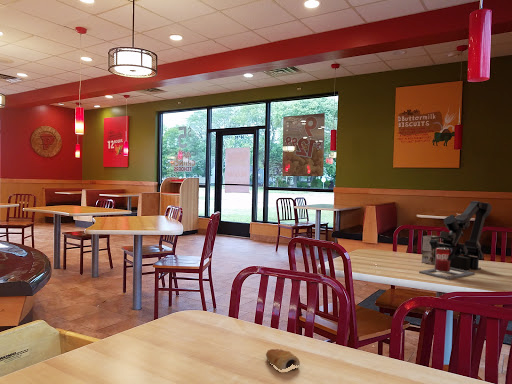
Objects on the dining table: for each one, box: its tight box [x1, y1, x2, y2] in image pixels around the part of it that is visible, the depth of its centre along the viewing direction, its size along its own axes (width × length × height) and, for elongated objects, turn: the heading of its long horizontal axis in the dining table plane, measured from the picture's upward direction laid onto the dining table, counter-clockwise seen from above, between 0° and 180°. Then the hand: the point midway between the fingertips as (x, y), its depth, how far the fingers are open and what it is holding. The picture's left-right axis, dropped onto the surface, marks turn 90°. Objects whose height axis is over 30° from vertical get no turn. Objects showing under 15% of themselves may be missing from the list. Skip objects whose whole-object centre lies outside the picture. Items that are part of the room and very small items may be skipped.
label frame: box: [418, 267, 476, 281], centre depth 205 cm, size 26×16×1 cm, turn 125°
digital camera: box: [450, 255, 471, 271], centre depth 219 cm, size 10×5×7 cm, turn 33°
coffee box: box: [421, 234, 441, 265], centre depth 232 cm, size 9×6×16 cm
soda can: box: [434, 247, 452, 273], centre depth 202 cm, size 7×7×12 cm
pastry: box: [265, 348, 301, 370], centre depth 97 cm, size 9×7×4 cm
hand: (441, 258), depth 201 cm, fingers closed on soda can, 7 cm apart
